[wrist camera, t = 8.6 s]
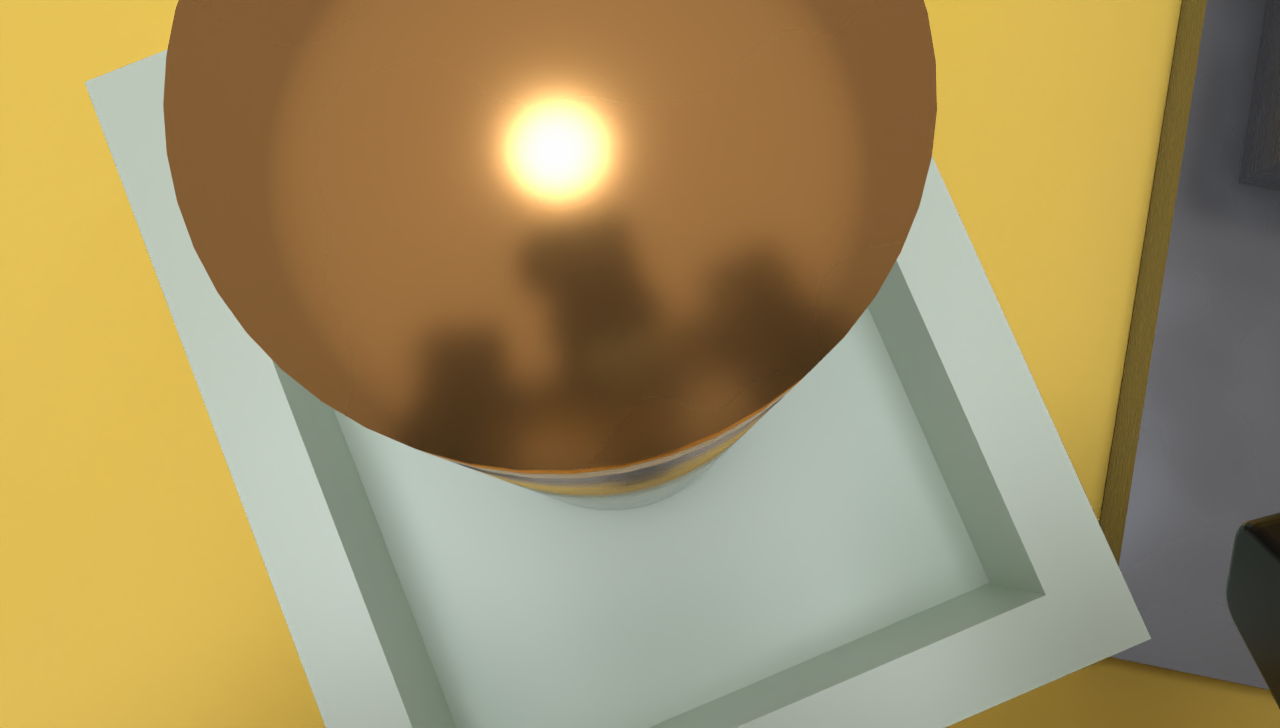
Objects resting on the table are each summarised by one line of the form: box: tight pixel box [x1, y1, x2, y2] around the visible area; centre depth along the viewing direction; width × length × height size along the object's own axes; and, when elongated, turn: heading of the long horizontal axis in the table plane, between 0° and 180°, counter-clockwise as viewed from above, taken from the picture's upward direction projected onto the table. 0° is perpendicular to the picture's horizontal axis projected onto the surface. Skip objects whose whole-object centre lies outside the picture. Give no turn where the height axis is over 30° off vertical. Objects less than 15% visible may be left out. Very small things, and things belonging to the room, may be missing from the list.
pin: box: [163, 0, 937, 510], centre depth 12 cm, size 4×4×12 cm
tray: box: [85, 50, 1151, 728], centre depth 17 cm, size 12×10×4 cm
